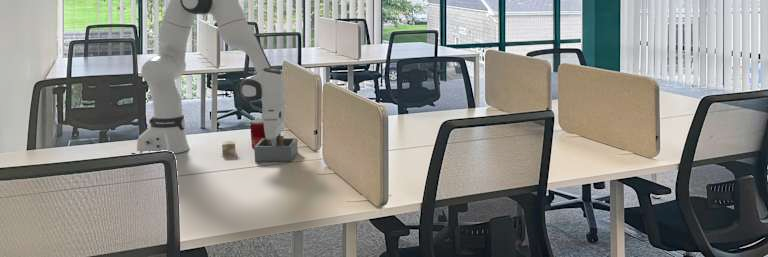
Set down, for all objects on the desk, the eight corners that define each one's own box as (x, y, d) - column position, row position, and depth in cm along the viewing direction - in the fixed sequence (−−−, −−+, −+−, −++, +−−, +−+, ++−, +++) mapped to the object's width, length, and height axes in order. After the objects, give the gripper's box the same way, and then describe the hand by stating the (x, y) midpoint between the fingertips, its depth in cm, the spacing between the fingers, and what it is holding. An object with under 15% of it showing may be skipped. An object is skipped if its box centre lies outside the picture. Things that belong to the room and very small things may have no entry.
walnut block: (268, 151, 275) (268, 138, 274) (271, 148, 280) (270, 135, 279) (281, 151, 275) (281, 138, 274) (284, 148, 280) (283, 135, 279)
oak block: (222, 156, 281) (221, 144, 280) (222, 153, 286) (222, 141, 285) (235, 156, 282) (234, 143, 281) (235, 153, 287) (234, 140, 286)
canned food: (267, 149, 292) (265, 122, 289) (248, 148, 293) (247, 122, 291) (273, 144, 299) (272, 118, 297) (255, 144, 301) (254, 118, 298)
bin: (255, 162, 272) (254, 146, 270) (262, 153, 285) (262, 138, 284) (291, 161, 271) (291, 146, 270) (297, 152, 285) (297, 138, 283)
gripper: (271, 105, 285) (273, 139, 288) (260, 116, 265) (262, 152, 268) (287, 105, 284) (289, 139, 287) (277, 115, 264) (279, 152, 267)
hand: (276, 145), depth 277 cm, fingers closed on walnut block, 5 cm apart
